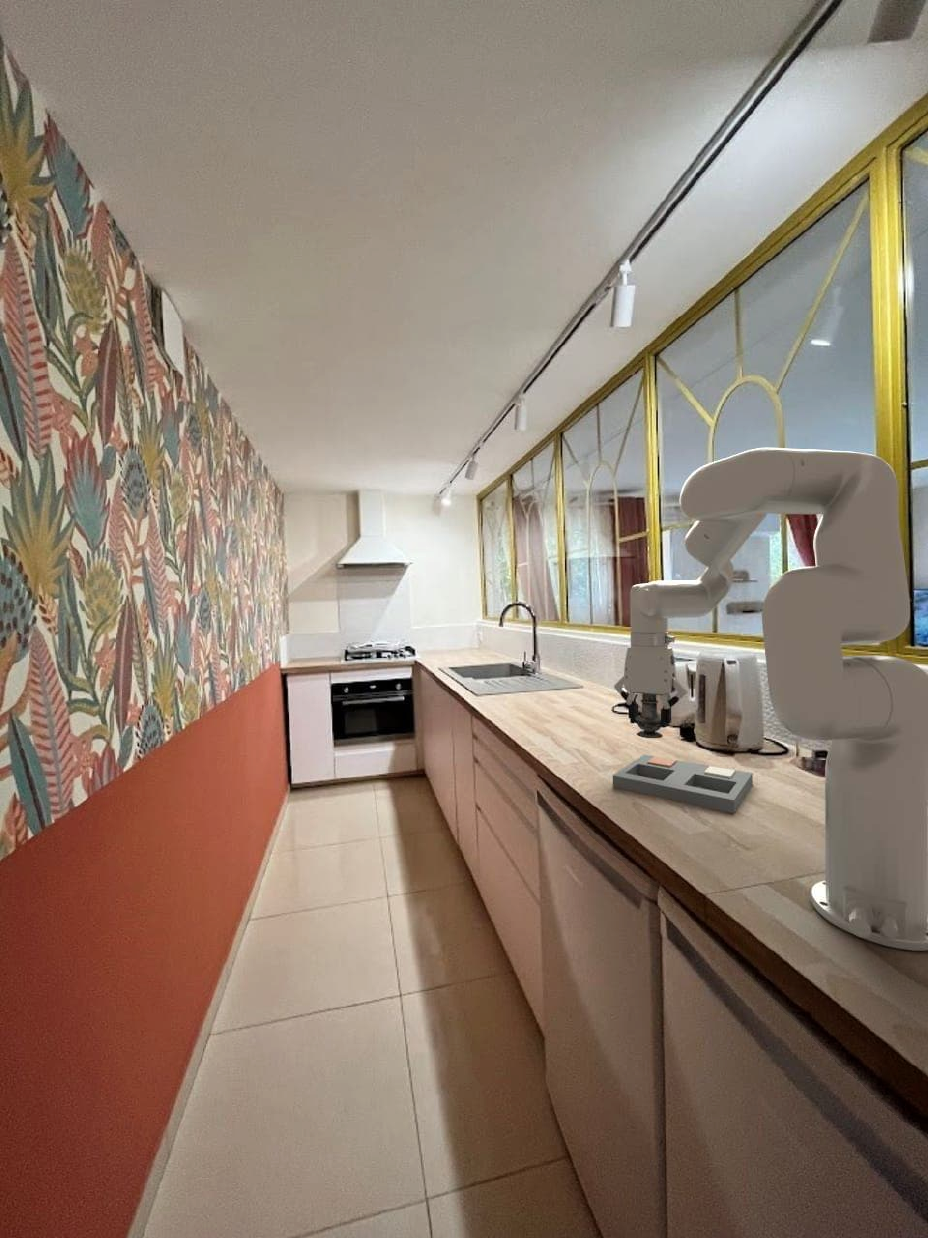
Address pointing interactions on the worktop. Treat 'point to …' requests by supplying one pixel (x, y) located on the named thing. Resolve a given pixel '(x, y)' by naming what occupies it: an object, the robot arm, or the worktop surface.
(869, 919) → the robot arm
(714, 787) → the socket board
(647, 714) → the salt shaker
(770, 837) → the worktop surface
